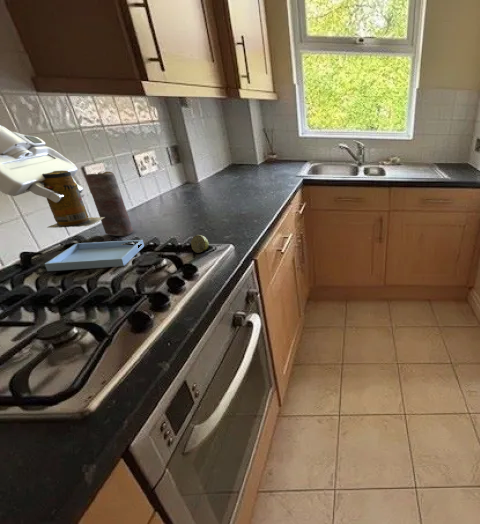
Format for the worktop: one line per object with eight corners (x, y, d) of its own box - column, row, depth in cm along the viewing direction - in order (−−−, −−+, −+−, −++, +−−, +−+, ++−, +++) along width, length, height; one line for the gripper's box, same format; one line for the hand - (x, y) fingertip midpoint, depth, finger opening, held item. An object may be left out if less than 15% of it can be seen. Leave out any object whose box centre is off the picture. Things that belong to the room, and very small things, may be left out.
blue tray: (47, 271, 84) (44, 263, 83) (78, 250, 96) (75, 243, 95) (124, 266, 87) (121, 258, 86) (144, 246, 100) (142, 239, 99)
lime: (209, 253, 96) (205, 237, 94) (190, 254, 95) (187, 238, 93) (211, 247, 100) (208, 232, 98) (193, 249, 99) (190, 233, 96)
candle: (102, 239, 104) (80, 174, 96) (108, 231, 110) (88, 170, 102) (131, 236, 107) (112, 173, 99) (135, 229, 113) (118, 169, 105)
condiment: (67, 218, 82) (48, 169, 77) (105, 217, 83) (89, 169, 78) (46, 228, 76) (24, 175, 71) (88, 227, 77) (69, 175, 72)
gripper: (-34, 146, 61) (47, 197, 67) (44, 136, 80) (102, 177, 85) (-50, 170, 63) (31, 218, 68) (30, 155, 81) (88, 194, 87)
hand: (71, 195), depth 77 cm, fingers closed on condiment, 6 cm apart
